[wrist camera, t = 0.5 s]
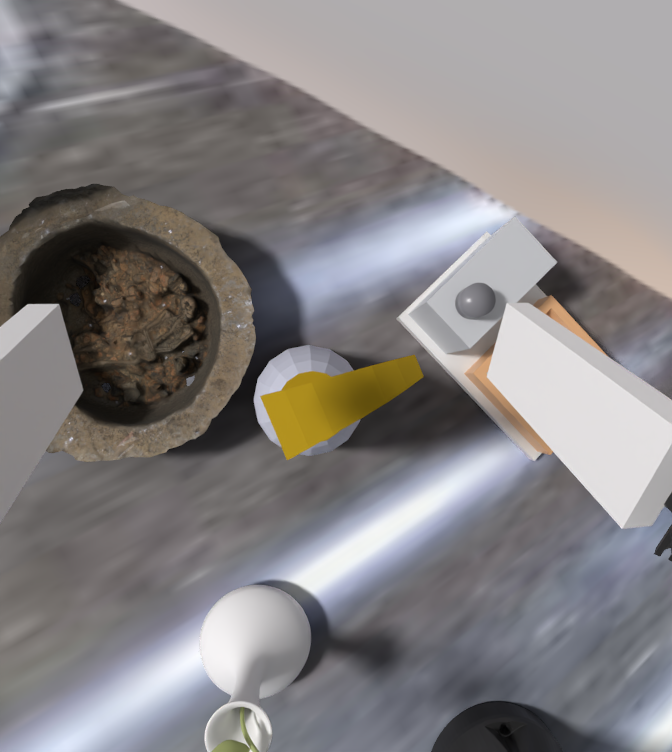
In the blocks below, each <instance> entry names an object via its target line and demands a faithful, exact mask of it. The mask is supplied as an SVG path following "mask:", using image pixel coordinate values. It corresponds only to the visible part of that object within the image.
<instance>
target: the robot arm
mask: <svg viewBox="0 0 672 752" xmlns="http://www.w3.org/2000/svg"><path fill="white" fill-rule="evenodd" d="M487 378H488V379H489V380H490V381H491V382H492V383H493V385H494V386H495V387H496V388H497V389H498V390H499V391H500V392H501V394H502V395H503V396H504V397H505V398H506V399H507V400H508V401H509V402H510V404H511V405H512V406H513V407H514V408H515V409H516V410H517V411H518V413H519V414H520V415H521V416H522V417H523V418H524V419H525V420H526V422H527V423H528V424H529V425H530V426H531V427H532V428H533V429H534V431H535V432H536V433H537V434H538V435H539V436H540V437H541V438H542V439H543V441H544V442H545V443H546V444H547V445H548V446H549V447H550V448H551V450H552V451H553V452H554V453H555V454H556V455H557V456H558V457H559V459H560V460H561V461H562V462H563V463H564V464H565V465H566V466H567V467H568V469H569V470H570V471H571V472H572V473H573V474H574V475H575V476H576V478H577V479H578V480H579V481H580V482H581V483H582V484H583V485H584V487H585V488H586V489H587V490H588V491H589V492H590V493H591V494H592V496H593V497H594V498H595V499H596V500H597V501H598V502H599V503H600V504H601V506H602V507H603V508H604V509H605V510H606V511H607V512H608V513H609V515H610V516H611V517H612V518H613V519H614V520H615V521H616V522H617V524H618V525H619V526H620V527H621V528H622V529H626V528H636V527H645V526H652V525H653V523H654V522H655V520H656V519H657V517H658V515H659V514H660V512H661V511H662V509H663V507H664V506H666V507H667V508H668V509H669V510H670V511H671V512H672V400H671V399H670V398H668V397H667V396H665V395H664V394H662V393H661V392H659V391H658V390H656V389H655V388H653V387H652V386H650V385H649V384H648V383H646V382H645V381H643V380H642V379H640V378H639V377H637V376H636V375H634V374H633V373H631V372H630V371H628V370H627V369H625V368H624V367H622V366H621V365H620V364H618V363H617V362H615V361H614V360H612V359H611V358H609V357H608V356H606V355H605V354H603V353H602V352H600V351H599V350H597V349H596V348H594V347H593V346H592V345H590V344H589V343H587V342H586V341H584V340H583V339H581V338H580V337H578V336H577V335H575V334H574V333H572V332H571V331H569V330H568V329H567V328H565V327H564V326H562V325H561V324H559V323H558V322H556V321H555V320H553V319H552V318H550V317H549V316H547V315H546V314H544V313H543V312H541V311H540V310H539V309H537V308H536V307H534V306H533V305H531V304H530V303H507V304H506V308H505V311H504V315H503V319H502V322H501V326H500V330H499V333H498V337H497V340H496V344H495V348H494V351H493V355H492V359H491V362H490V366H489V370H488V373H487ZM82 392H83V387H82V384H81V380H80V376H79V373H78V369H77V366H76V362H75V359H74V355H73V352H72V348H71V344H70V341H69V337H68V334H67V330H66V327H65V323H64V320H63V316H62V312H61V309H60V305H59V304H27V305H26V306H25V307H24V308H22V309H21V310H20V311H19V312H18V313H16V314H15V315H14V316H13V317H12V318H10V319H9V320H8V321H7V322H5V323H4V324H3V325H2V326H1V327H0V523H1V522H2V520H3V518H4V517H5V515H6V514H7V512H8V510H9V509H10V507H11V506H12V504H13V502H14V501H15V499H16V498H17V496H18V494H19V493H20V491H21V490H22V488H23V486H24V485H25V483H26V482H27V480H28V478H29V477H30V475H31V474H32V472H33V470H34V469H35V467H36V466H37V464H38V462H39V461H40V459H41V458H42V456H43V454H44V453H45V451H46V450H47V448H48V446H49V445H50V443H51V442H52V440H53V438H54V437H55V435H56V433H57V432H58V430H59V429H60V427H61V425H62V424H63V422H64V421H65V419H66V417H67V416H68V414H69V413H70V411H71V409H72V408H73V406H74V405H75V403H76V401H77V400H78V398H79V397H80V395H81V393H82ZM668 548H671V551H672V525H671V526H670V528H669V529H668V531H667V532H666V534H665V535H664V537H663V538H662V540H661V541H660V543H659V544H658V546H657V547H656V550H655V553H654V554H656V555H658V556H661V554H662V553H663V551H664V550H665V549H668ZM669 560H670V561H672V555H671V556H670V557H669ZM431 752H563V751H562V749H561V747H560V745H559V744H558V742H557V741H556V739H555V738H554V736H553V735H552V734H551V732H550V731H549V729H548V728H547V727H546V725H545V724H544V723H543V722H542V721H541V720H540V719H539V718H538V717H537V716H536V715H534V714H533V713H532V712H530V711H529V710H527V709H525V708H523V707H521V706H518V705H515V704H511V703H505V702H490V703H484V704H480V705H477V706H474V707H472V708H469V709H467V710H466V711H464V712H462V713H461V714H459V715H458V716H456V717H455V718H454V719H453V720H452V721H451V722H450V723H449V724H448V725H447V726H446V727H445V728H444V729H443V731H442V732H441V734H440V735H439V737H438V738H437V740H436V742H435V744H434V746H433V749H432V751H431Z"/></svg>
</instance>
